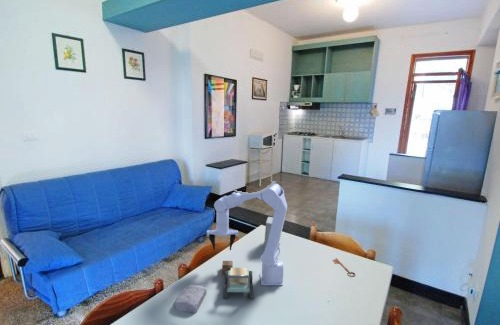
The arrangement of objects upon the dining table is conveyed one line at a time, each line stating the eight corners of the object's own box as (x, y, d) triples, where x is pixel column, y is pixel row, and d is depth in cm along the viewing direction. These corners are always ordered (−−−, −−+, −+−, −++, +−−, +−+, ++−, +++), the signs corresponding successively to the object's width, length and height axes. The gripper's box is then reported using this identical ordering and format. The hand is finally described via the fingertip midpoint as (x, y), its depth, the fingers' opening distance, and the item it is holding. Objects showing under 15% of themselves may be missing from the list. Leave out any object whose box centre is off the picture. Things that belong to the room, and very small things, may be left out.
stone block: (173, 315, 98) (198, 314, 96) (171, 303, 97) (195, 302, 95) (186, 294, 110) (208, 293, 108) (184, 284, 109) (206, 282, 107)
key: (329, 260, 134) (345, 278, 120) (329, 259, 134) (345, 277, 120) (339, 259, 135) (356, 276, 121) (339, 257, 135) (357, 274, 121)
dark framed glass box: (251, 278, 117) (252, 258, 115) (253, 300, 104) (253, 277, 102) (225, 278, 117) (225, 257, 115) (223, 300, 103) (223, 277, 101)
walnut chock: (232, 267, 125) (232, 256, 124) (232, 277, 118) (232, 265, 117) (223, 267, 125) (223, 256, 124) (222, 277, 118) (222, 265, 117)
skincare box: (265, 241, 151) (266, 216, 148) (277, 242, 150) (279, 217, 146) (263, 248, 143) (264, 222, 140) (276, 250, 141) (277, 223, 138)
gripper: (238, 219, 125) (237, 244, 128) (208, 218, 125) (208, 244, 127) (237, 225, 118) (237, 252, 121) (206, 225, 118) (206, 252, 120)
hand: (222, 249), depth 124 cm, fingers open, 7 cm apart
